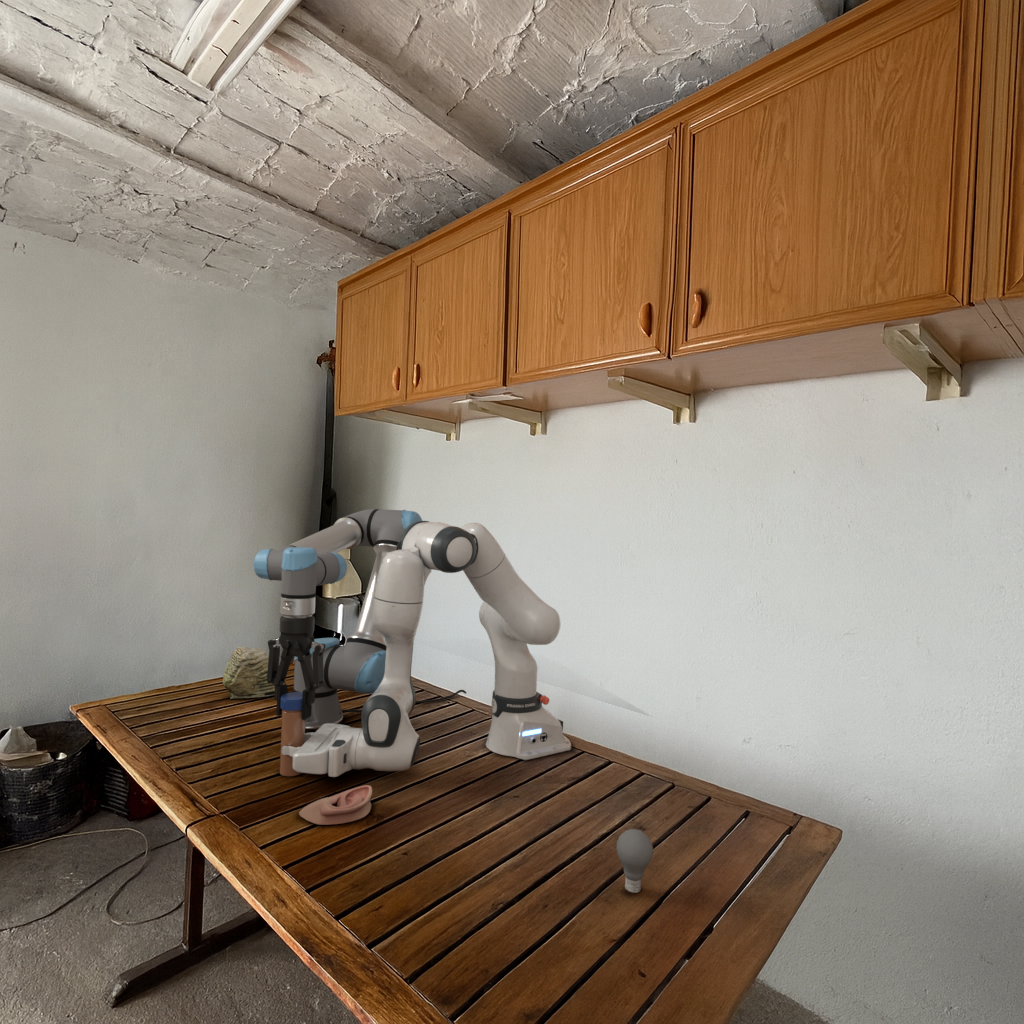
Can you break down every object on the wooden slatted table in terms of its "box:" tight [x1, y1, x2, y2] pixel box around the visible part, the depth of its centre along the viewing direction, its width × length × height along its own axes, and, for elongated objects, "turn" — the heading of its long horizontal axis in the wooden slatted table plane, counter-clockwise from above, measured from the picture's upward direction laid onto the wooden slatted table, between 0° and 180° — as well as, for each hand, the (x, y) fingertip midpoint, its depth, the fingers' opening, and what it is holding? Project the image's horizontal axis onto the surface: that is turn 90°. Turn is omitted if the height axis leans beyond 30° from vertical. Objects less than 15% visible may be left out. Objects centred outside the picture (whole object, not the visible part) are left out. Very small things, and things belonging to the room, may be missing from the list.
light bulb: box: [615, 828, 654, 894], centre depth 106 cm, size 6×6×10 cm
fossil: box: [222, 646, 287, 699], centre depth 198 cm, size 9×18×15 cm, turn 132°
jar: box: [279, 709, 306, 777], centre depth 145 cm, size 5×5×17 cm
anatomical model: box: [298, 784, 373, 826], centre depth 127 cm, size 13×4×12 cm
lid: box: [280, 691, 303, 711], centre depth 145 cm, size 6×6×2 cm
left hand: (293, 715), depth 145 cm, fingers closed on lid, 6 cm apart
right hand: (288, 743), depth 145 cm, fingers closed on jar, 5 cm apart
